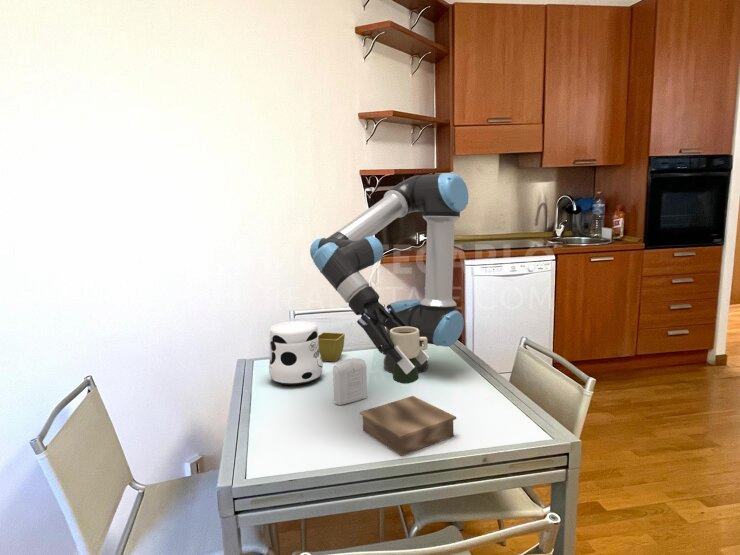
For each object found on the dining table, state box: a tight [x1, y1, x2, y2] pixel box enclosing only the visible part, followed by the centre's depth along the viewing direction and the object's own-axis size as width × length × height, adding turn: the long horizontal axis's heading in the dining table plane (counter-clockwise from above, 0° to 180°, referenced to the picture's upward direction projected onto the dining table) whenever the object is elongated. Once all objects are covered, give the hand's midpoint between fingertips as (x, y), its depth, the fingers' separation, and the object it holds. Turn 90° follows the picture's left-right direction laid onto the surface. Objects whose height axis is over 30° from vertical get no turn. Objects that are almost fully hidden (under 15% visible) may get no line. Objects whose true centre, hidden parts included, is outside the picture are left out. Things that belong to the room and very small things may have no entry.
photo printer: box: [332, 357, 368, 406], centre depth 151 cm, size 10×4×12 cm, turn 123°
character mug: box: [390, 327, 428, 385], centre depth 126 cm, size 11×7×13 cm, turn 85°
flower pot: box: [318, 332, 346, 362], centre depth 189 cm, size 9×9×9 cm
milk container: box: [268, 320, 323, 386], centre depth 169 cm, size 17×17×18 cm
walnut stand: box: [359, 395, 457, 456], centre depth 129 cm, size 17×17×5 cm
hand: (418, 365), depth 125 cm, fingers closed on character mug, 7 cm apart
